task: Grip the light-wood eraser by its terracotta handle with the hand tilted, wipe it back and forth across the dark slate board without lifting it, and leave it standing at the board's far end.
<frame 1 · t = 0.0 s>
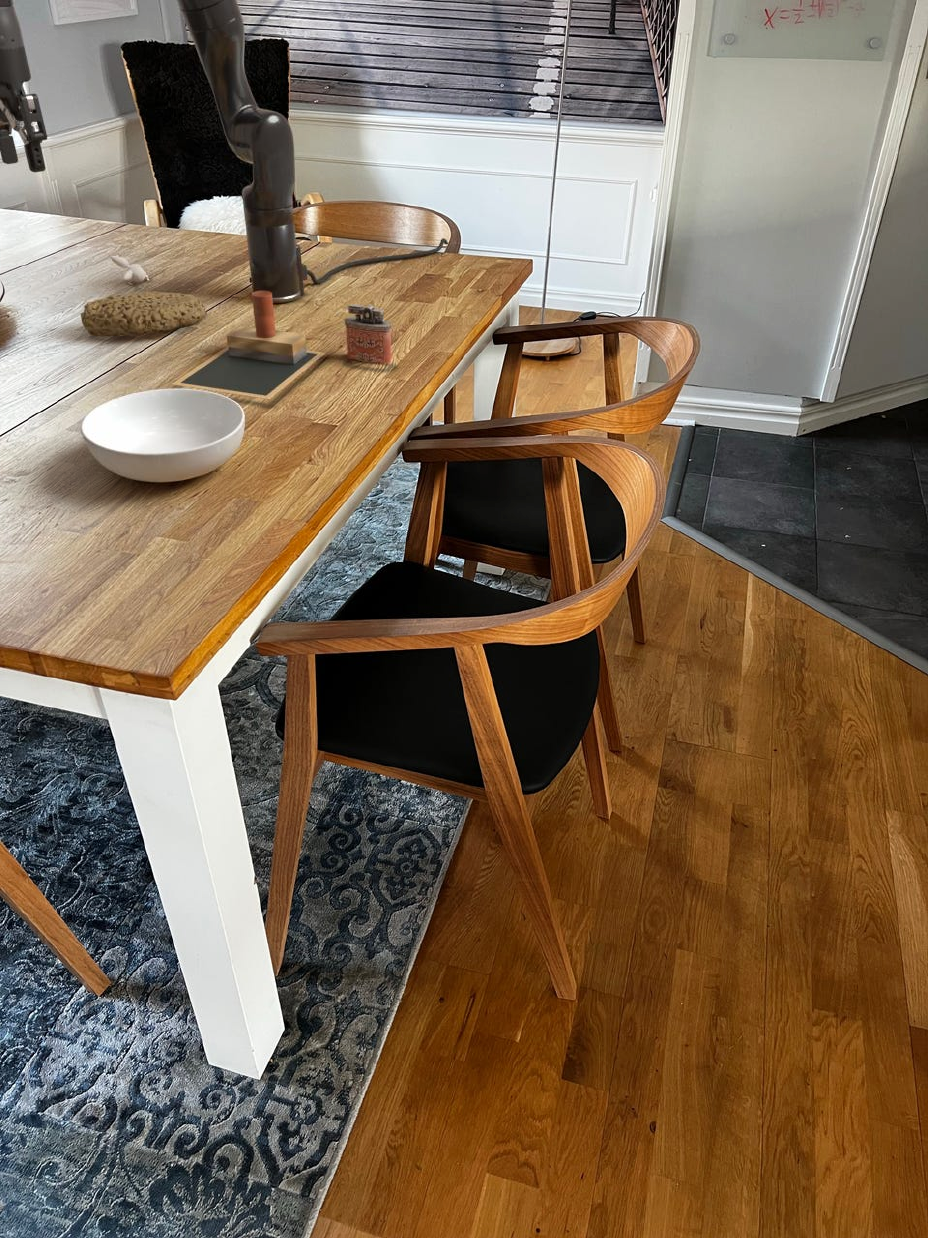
hand: (24, 167, 145), 29 cm above the table, tool pointing down, fingers open, 8 cm apart
serving bowl: (172, 466, 129), on the table
sponge: (149, 332, 172), on the table
board: (252, 374, 156), on the table
eraser: (268, 355, 160), point 1 cm above the table, touching board
lighter: (369, 366, 160), on the table
rabbit figurine: (131, 284, 194), on the table
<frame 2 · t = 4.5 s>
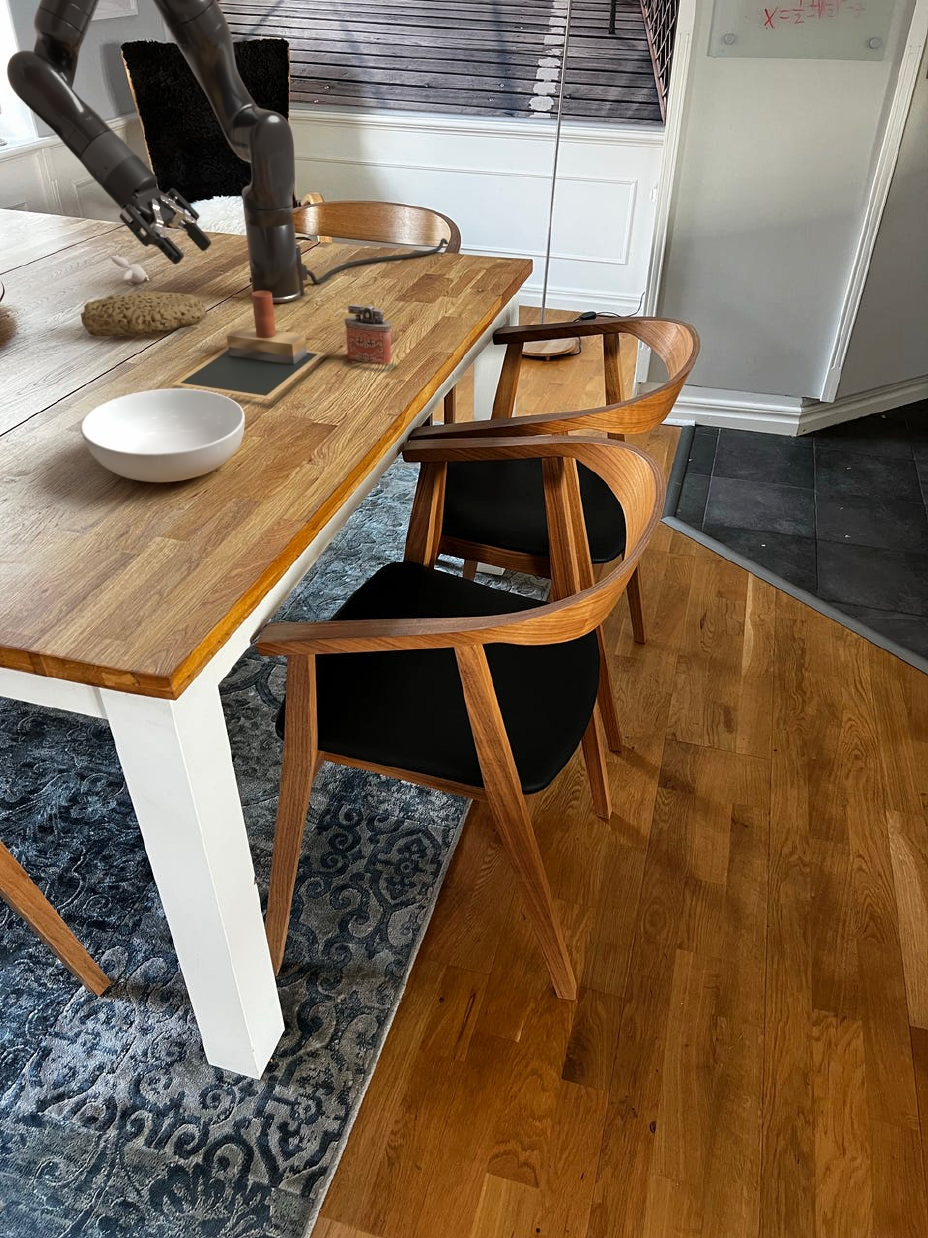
hand: (194, 253, 154), 17 cm above the table, tool tilted 45°, fingers open, 8 cm apart
nothing on the table moved.
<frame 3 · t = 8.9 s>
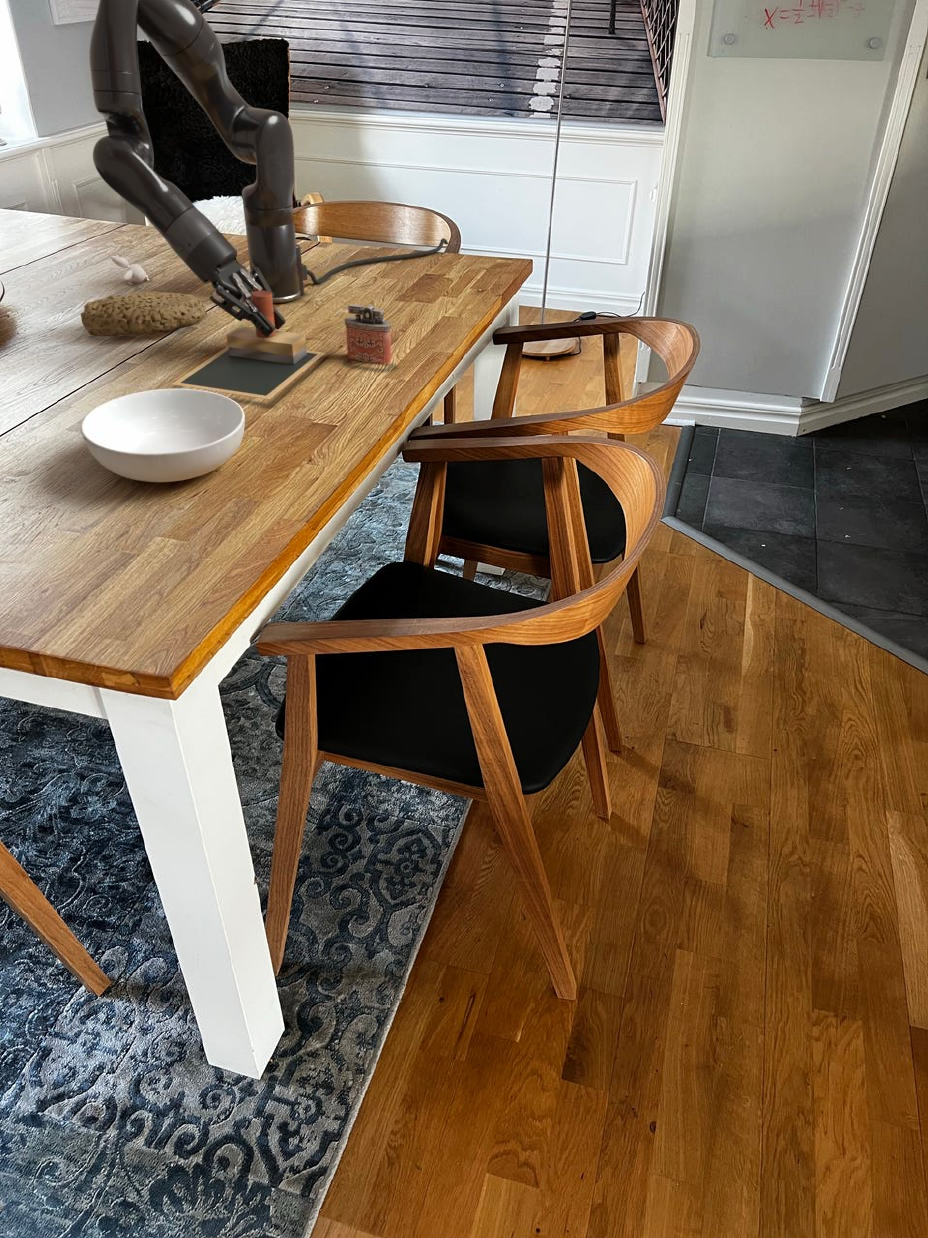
hand: (276, 329, 157), 6 cm above the table, tool tilted 45°, fingers closed on eraser, 3 cm apart
eraser: (268, 355, 160), point 1 cm above the table, touching board, gripper
everything else where it was.
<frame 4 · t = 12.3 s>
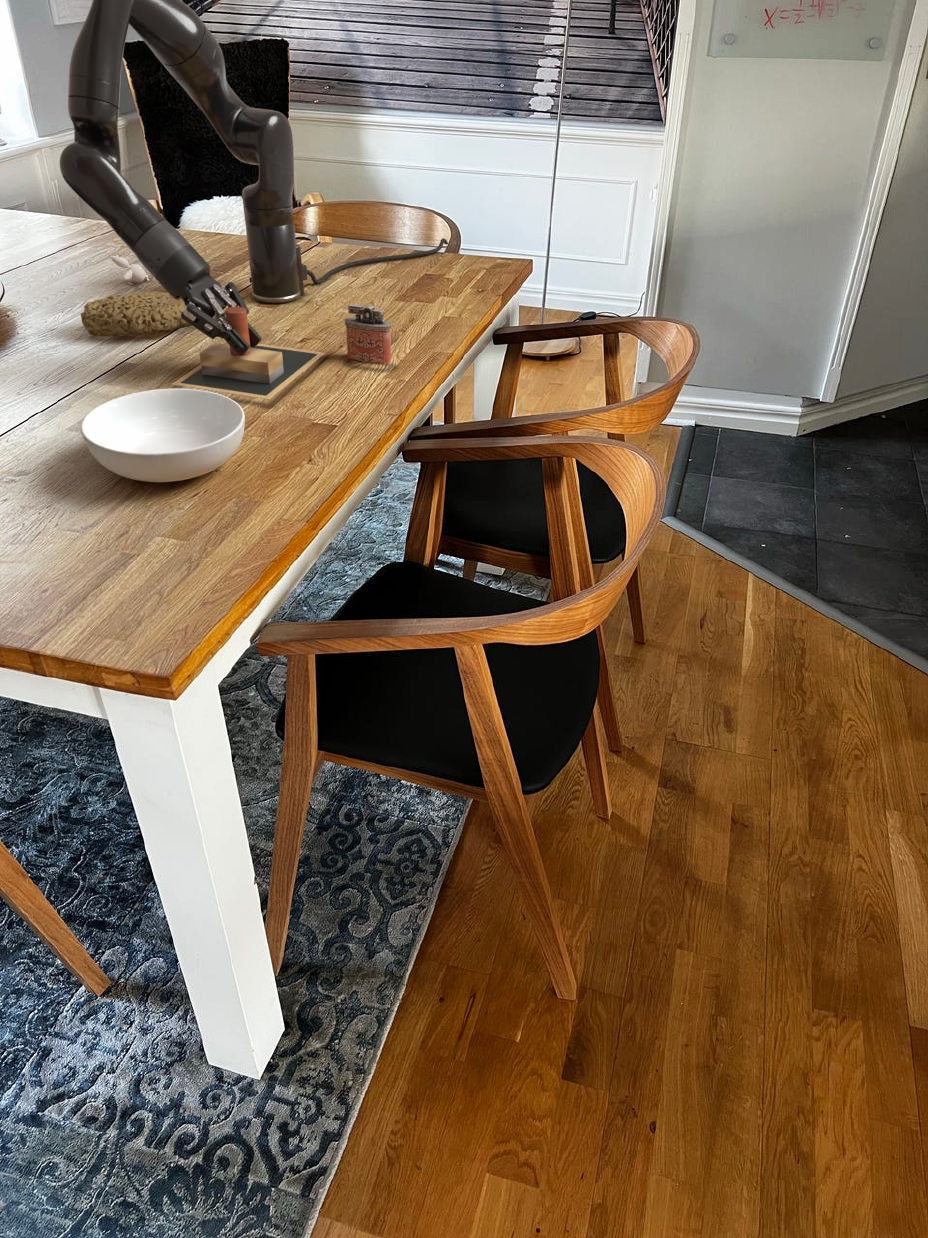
hand: (251, 347, 150), 6 cm above the table, tool tilted 45°, fingers closed on eraser, 3 cm apart
eraser: (243, 373, 153), point 1 cm above the table, touching gripper
everything else where it was.
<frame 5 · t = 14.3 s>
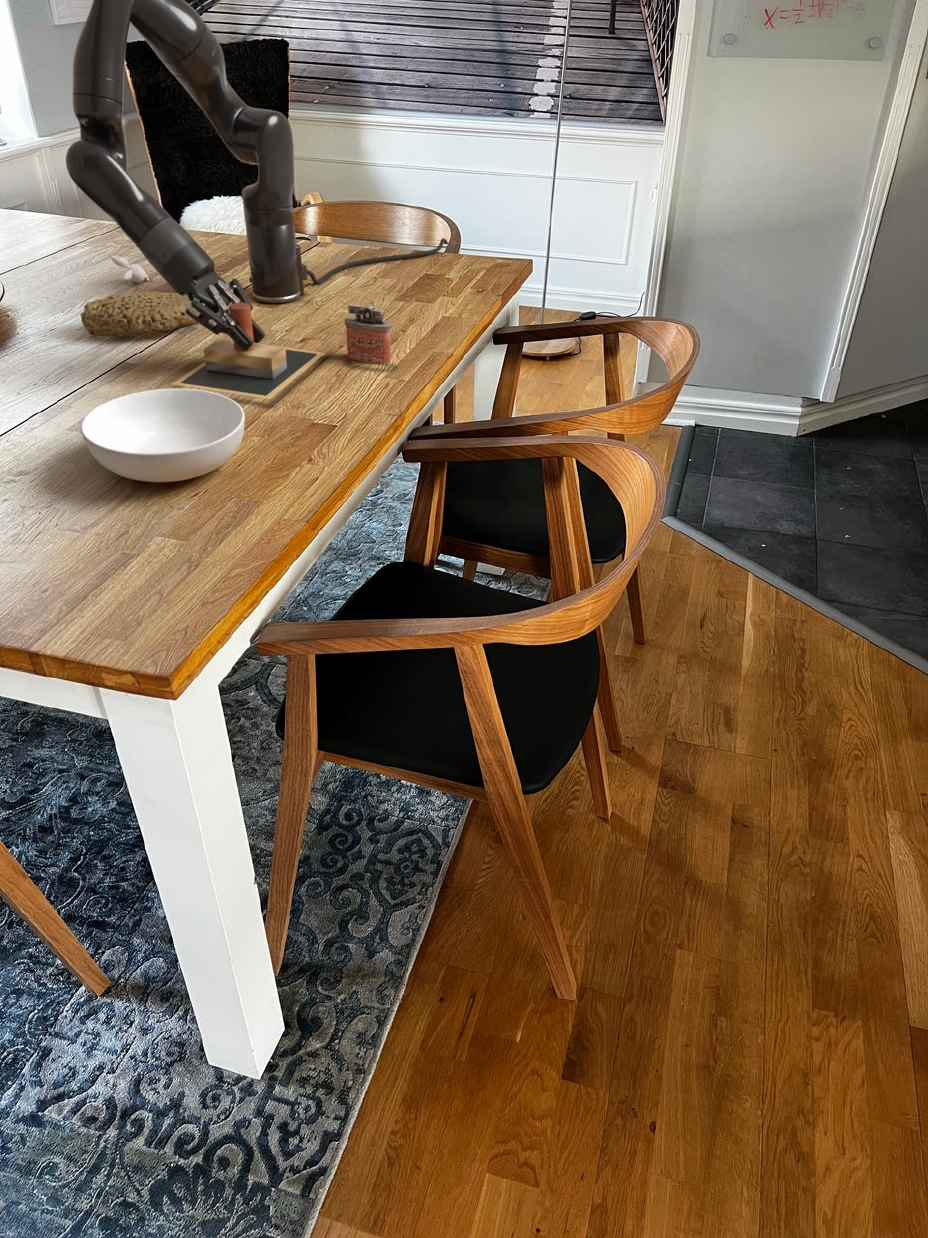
hand: (255, 343, 151), 6 cm above the table, tool tilted 45°, fingers closed on eraser, 3 cm apart
eraser: (247, 369, 154), point 1 cm above the table, touching gripper
everything else where it was.
when the fingers open (6 cm above the table, at t = 15.7 s): eraser stays where it is, resting on board.
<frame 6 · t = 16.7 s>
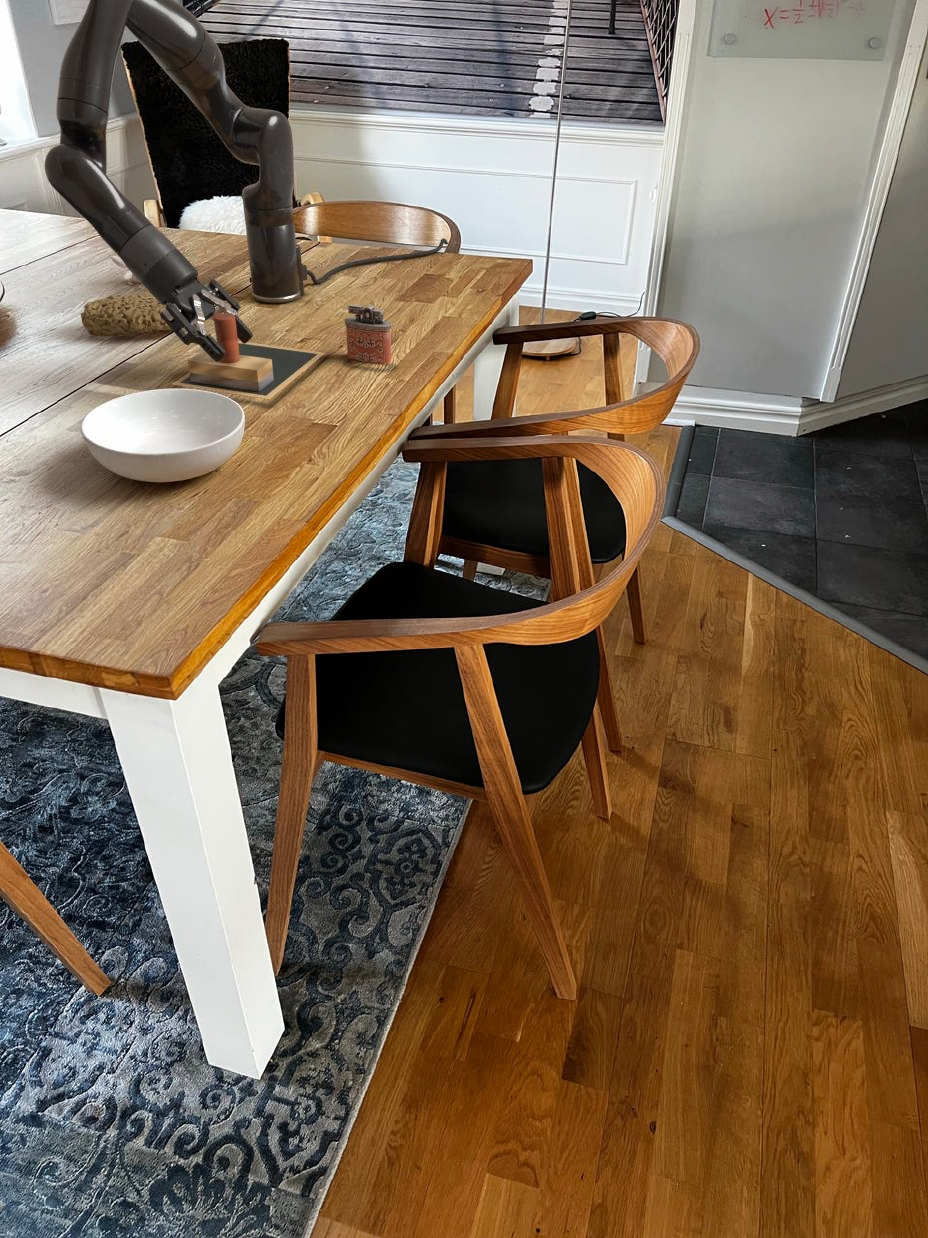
hand: (236, 348, 147), 7 cm above the table, tool tilted 45°, fingers open, 8 cm apart
eraser: (232, 380, 151), point 1 cm above the table, touching board
everything else where it was.
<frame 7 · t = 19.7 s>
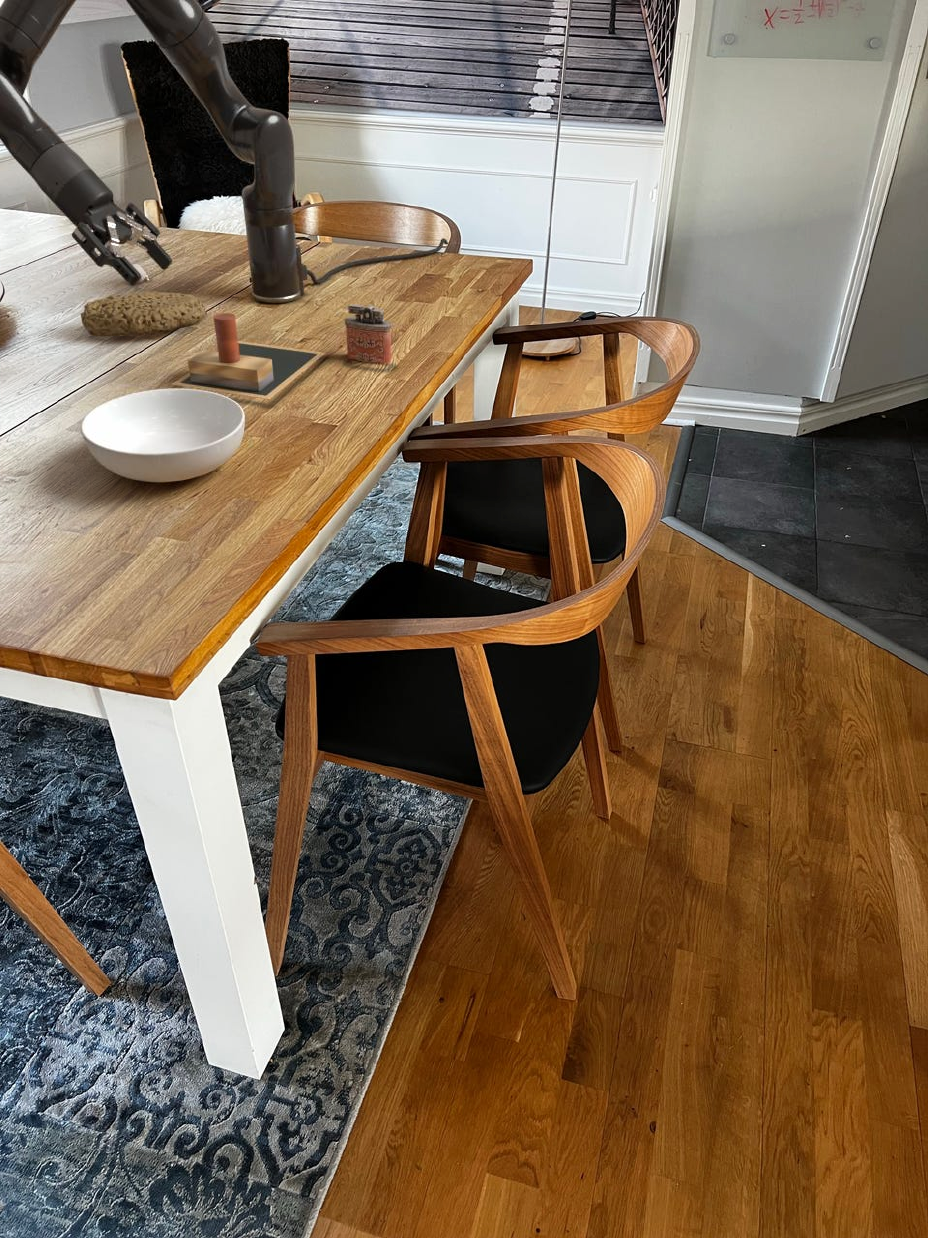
hand: (153, 273, 144), 17 cm above the table, tool tilted 45°, fingers open, 8 cm apart
nothing on the table moved.
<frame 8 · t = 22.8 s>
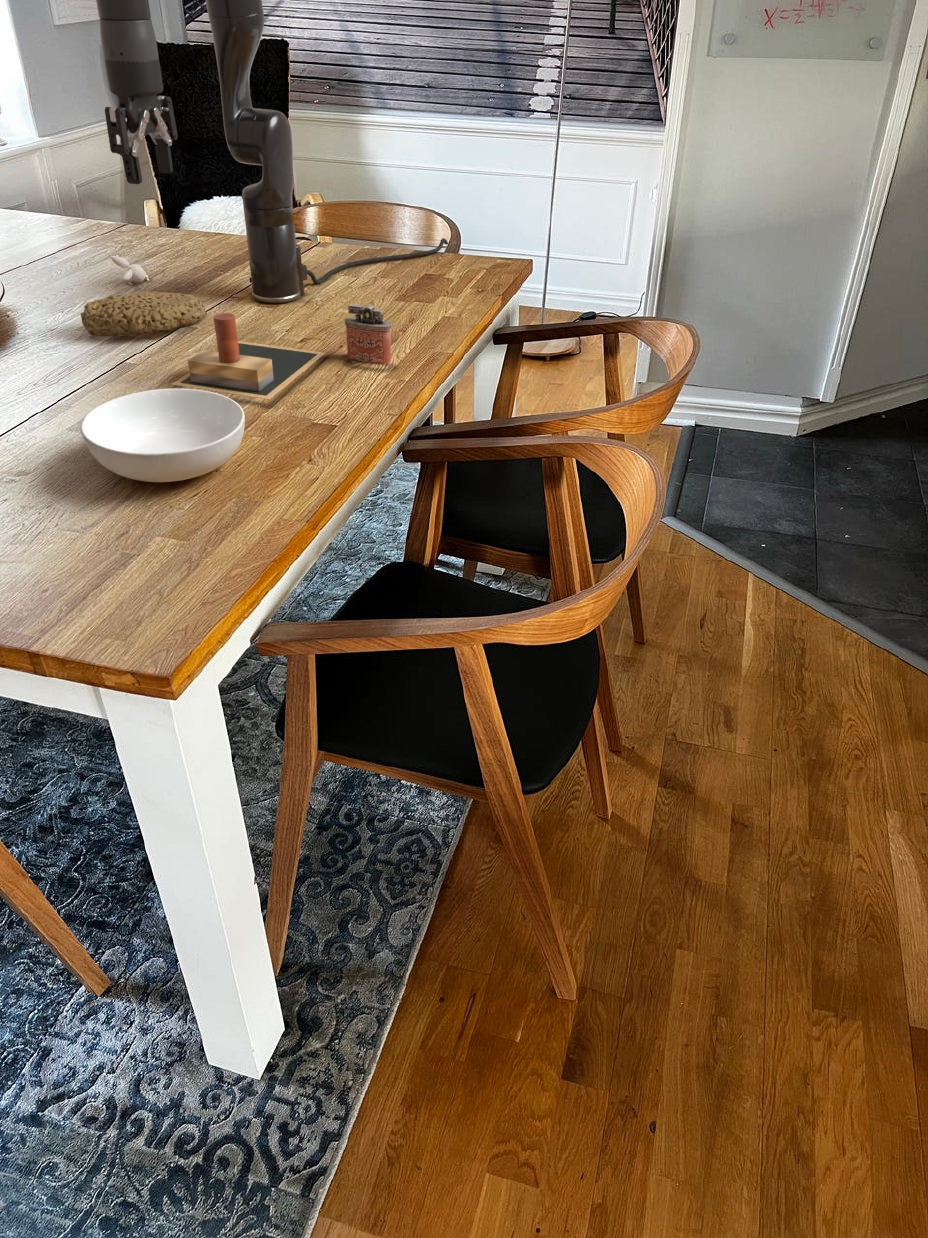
hand: (151, 177, 146), 28 cm above the table, tool pointing down, fingers open, 8 cm apart
nothing on the table moved.
at the end: eraser 0.1 cm from the target spot on the board, point 1.2 cm above the board's base; eraser touching board; eraser tilted 0° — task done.
